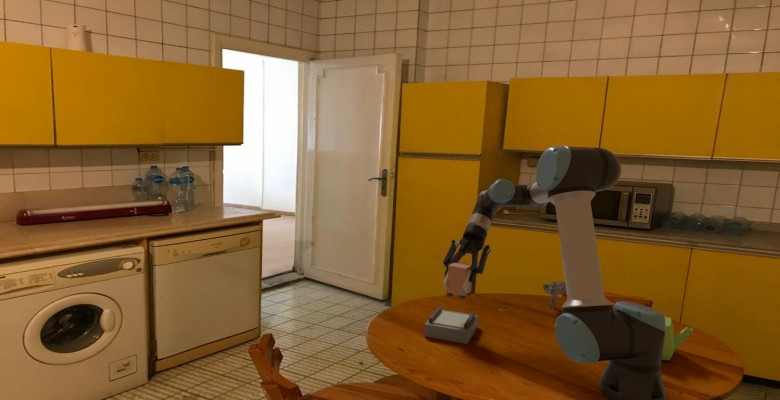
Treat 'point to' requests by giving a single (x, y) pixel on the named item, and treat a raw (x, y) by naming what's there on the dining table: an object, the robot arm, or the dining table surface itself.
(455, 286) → the block
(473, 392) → the dining table surface
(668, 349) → the teapot
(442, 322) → the step
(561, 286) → the mechanical component
